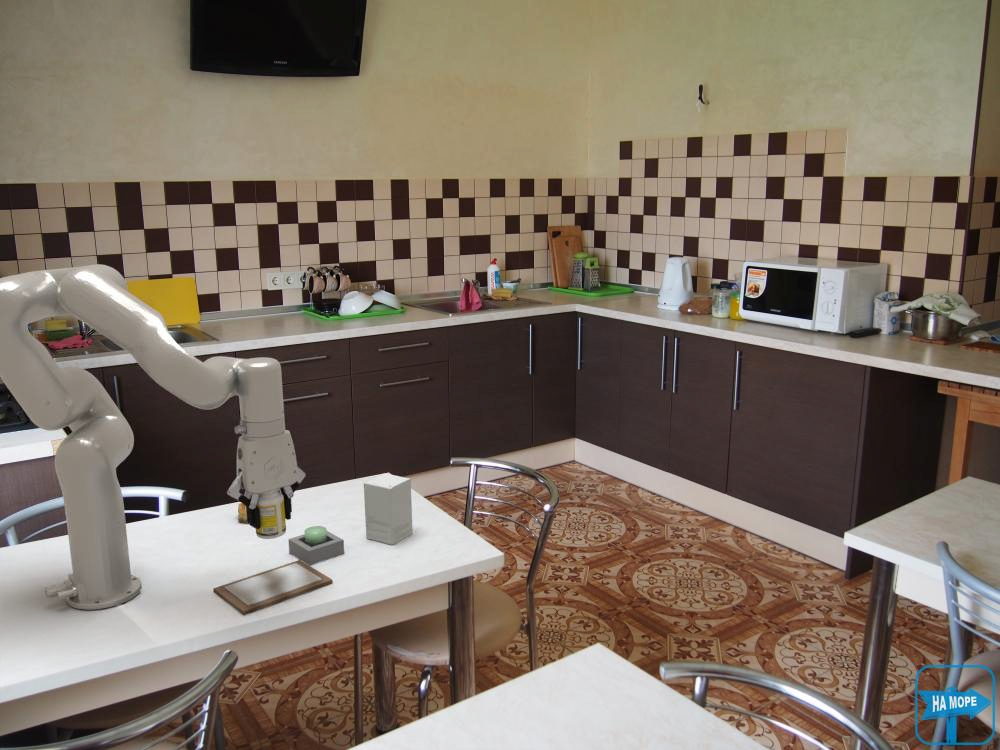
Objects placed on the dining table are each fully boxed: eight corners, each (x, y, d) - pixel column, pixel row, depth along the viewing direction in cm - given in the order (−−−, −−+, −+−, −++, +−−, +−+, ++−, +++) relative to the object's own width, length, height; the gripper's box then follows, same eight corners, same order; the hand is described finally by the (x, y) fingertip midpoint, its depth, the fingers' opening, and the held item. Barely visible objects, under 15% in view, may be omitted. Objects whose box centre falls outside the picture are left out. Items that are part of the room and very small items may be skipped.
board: (243, 615, 150) (243, 610, 150) (213, 592, 159) (213, 587, 158) (332, 583, 162) (332, 578, 162) (300, 563, 171) (299, 558, 170)
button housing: (309, 565, 170) (308, 551, 169) (289, 552, 176) (288, 539, 175) (344, 553, 175) (343, 539, 174) (323, 541, 181) (322, 528, 180)
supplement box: (413, 534, 185) (412, 478, 182) (391, 546, 179) (389, 488, 176) (387, 526, 189) (385, 472, 186) (364, 538, 183) (362, 482, 180)
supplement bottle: (274, 525, 162) (271, 476, 160) (292, 532, 158) (289, 482, 156) (249, 534, 158) (246, 484, 156) (267, 542, 154) (264, 490, 152)
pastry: (279, 510, 199) (278, 494, 198) (281, 521, 193) (280, 505, 192) (237, 515, 196) (235, 499, 195) (238, 526, 190) (237, 510, 189)
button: (312, 545, 172) (311, 536, 171) (300, 539, 175) (300, 530, 174) (331, 539, 175) (330, 530, 174) (319, 533, 178) (319, 524, 177)
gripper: (227, 441, 145) (235, 541, 149) (316, 421, 157) (321, 515, 160) (208, 432, 151) (216, 529, 154) (295, 414, 162) (301, 504, 166)
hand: (270, 521), depth 157 cm, fingers closed on supplement bottle, 5 cm apart
